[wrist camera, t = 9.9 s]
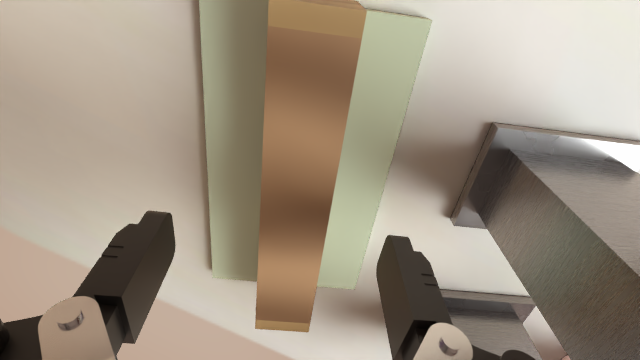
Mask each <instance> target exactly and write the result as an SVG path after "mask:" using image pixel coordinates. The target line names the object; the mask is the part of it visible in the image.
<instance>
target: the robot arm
mask: <svg viewBox="0 0 640 360" xmlns="http://www.w3.org/2000/svg"><path fill="white" fill-rule="evenodd" d="M174 253H175V237H174V229H173V221H172V215H171V213H167V212H157V211H147V212H146V213H145V214H144V216H143V218H142V219H141V221H140V222H139V224H129V225H127V226H126V227H124V228H123V229H122V230H120V231H119V232H118V233H116V235H115V236H114V238H113V239H112V241H111V242H110V243H109V245H108V248H106V249H105V251H104V252H103V254H102V256H101V257H100V258H99V259H98V261H97V262H96V264H95V265H94V267H93V268H92V270H91V271H90V273H89V274H88V275H87V277H86V279H85V280H84V281H83V283H82V284H81V286H80V287H79V288H78V290H77V291H76V293H75V294H74V296H73V297H71V298H68V299H65V300H63V301H60V302H59V303H57V304H55V305H54V306H52V307H51V308H50V309H49V310H47V312H46V313H45V314H44V315H41V316H37V317H32V318H28V319H22V320H17V321H12V322H6V323H3V322H2V321H1V319H0V360H118V359H117V356H116V355H117V353H118V351H119V349H120V347H121V345H122V343H132V344H133V343H134V344H135V342H136V340H137V338H138V335H139V333H140V331H141V329H142V326H143V324H144V322H145V320H146V318H147V315H148V313H149V311H150V308H151V306H152V304H153V302H154V300H155V298H156V295H157V293H158V291H159V289H160V286H161V284H162V282H163V280H164V278H165V275H166V273H167V271H168V269H169V266H170V264H171V262H172V260H173V257H174ZM377 282H378V287H379V292H380V297H381V302H382V307H383V312H384V318H385V323H386V328H387V333H388V338H389V343H390V348H391V354H392V359H393V360H535V359H534V358H533V357H532V356H530V355H528V354H527V353H524V352H522V351H519V350H508V351H506V352H504V353H503V355H502V356H498V355H496V354H493V353H491V352H488V351H485V350H483V349H480V348H478V347H475V346H474V345H472V344H471V343H470V341H469V340H468V338H467V337H466V336H465V334H464V333H463V332H462V331H460V330H459V329H458V328H456V327H454V326H453V323H452V321H451V318H450V316H449V313H448V310H447V308H446V305H445V302H444V299H443V297H442V294H441V291H440V289H439V287H438V283H437V281H436V278H435V277H434V273H433V270H432V267H431V265H430V262H429V261H428V260H427V259H426V258H425V256H424V255H423V254H422V253H421V252H417V251H413V248H412V245H411V242H410V239H409V238H408V237H403V236H393V235H388V236H387V238H386V240H385V243H384V246H383V249H382V251H381V254H380V257H379V260H378V263H377Z"/></svg>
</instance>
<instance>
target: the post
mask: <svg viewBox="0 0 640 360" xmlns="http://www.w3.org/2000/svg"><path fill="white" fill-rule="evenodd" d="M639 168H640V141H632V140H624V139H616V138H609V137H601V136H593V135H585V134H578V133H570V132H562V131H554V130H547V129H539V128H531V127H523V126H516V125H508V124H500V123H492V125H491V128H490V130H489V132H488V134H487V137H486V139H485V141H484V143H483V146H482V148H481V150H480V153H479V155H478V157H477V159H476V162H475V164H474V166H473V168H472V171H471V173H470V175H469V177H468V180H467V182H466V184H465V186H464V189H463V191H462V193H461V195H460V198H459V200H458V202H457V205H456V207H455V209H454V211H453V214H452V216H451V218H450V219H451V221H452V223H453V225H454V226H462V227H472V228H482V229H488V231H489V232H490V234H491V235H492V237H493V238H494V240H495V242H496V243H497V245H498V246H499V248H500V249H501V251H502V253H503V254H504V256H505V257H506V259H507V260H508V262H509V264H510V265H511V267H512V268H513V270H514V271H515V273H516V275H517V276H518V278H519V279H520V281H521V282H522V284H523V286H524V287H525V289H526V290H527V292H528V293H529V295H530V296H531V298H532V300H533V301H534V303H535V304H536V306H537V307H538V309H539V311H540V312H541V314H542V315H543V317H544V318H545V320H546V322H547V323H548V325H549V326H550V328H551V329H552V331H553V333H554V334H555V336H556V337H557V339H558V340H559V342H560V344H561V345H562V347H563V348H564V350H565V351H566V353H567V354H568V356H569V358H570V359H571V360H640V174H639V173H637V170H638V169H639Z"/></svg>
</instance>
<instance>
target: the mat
mask: <svg viewBox="0 0 640 360" xmlns="http://www.w3.org/2000/svg"><path fill="white" fill-rule="evenodd" d="M268 5H269V0H199V12H200V33H201V53H202V73H203V93H204V113H205V134H206V154H207V174H208V194H209V214H210V235H211V255H212V275H213V278H222V279H234V280H245V281H257V274H258V250H259V225H260V201H261V176H262V152H263V127H264V103H265V78H266V54H267V29H268ZM366 10H367V14H366V19H365V25H364V30H363V36H362V41H361V47H360V52H359V58H358V63H357V68H356V74H355V79H354V85H353V90H352V96H351V101H350V107H349V112H348V118H347V123H346V129H345V134H344V140H343V145H342V151H341V156H340V162H339V167H338V173H337V178H336V184H335V189H334V194H333V200H332V205H331V211H330V216H329V222H328V227H327V233H326V238H325V244H324V249H323V255H322V260H321V266H320V271H319V277H318V282H317V287H329V288H341V289H353V290H355V286H356V283H357V279H358V276H359V273H360V269H361V266H362V262H363V259H364V255H365V252H366V248H367V245H368V241H369V238H370V234H371V231H372V227H373V224H374V220H375V217H376V214H377V210H378V207H379V203H380V200H381V196H382V193H383V189H384V186H385V182H386V179H387V175H388V172H389V168H390V165H391V162H392V158H393V155H394V151H395V148H396V144H397V141H398V137H399V134H400V130H401V127H402V123H403V120H404V116H405V113H406V110H407V106H408V103H409V99H410V96H411V92H412V89H413V85H414V82H415V78H416V75H417V71H418V68H419V64H420V61H421V58H422V54H423V51H424V47H425V44H426V40H427V37H428V33H429V30H430V26H431V23H432V20H430V19H428V18H423V17H416V16H410V15H403V14H397V13H390V12H384V11H377V10H371V9H366Z"/></svg>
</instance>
